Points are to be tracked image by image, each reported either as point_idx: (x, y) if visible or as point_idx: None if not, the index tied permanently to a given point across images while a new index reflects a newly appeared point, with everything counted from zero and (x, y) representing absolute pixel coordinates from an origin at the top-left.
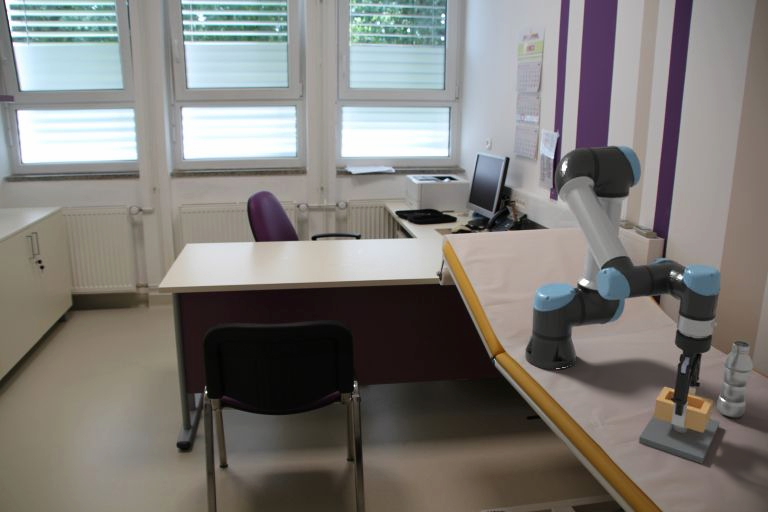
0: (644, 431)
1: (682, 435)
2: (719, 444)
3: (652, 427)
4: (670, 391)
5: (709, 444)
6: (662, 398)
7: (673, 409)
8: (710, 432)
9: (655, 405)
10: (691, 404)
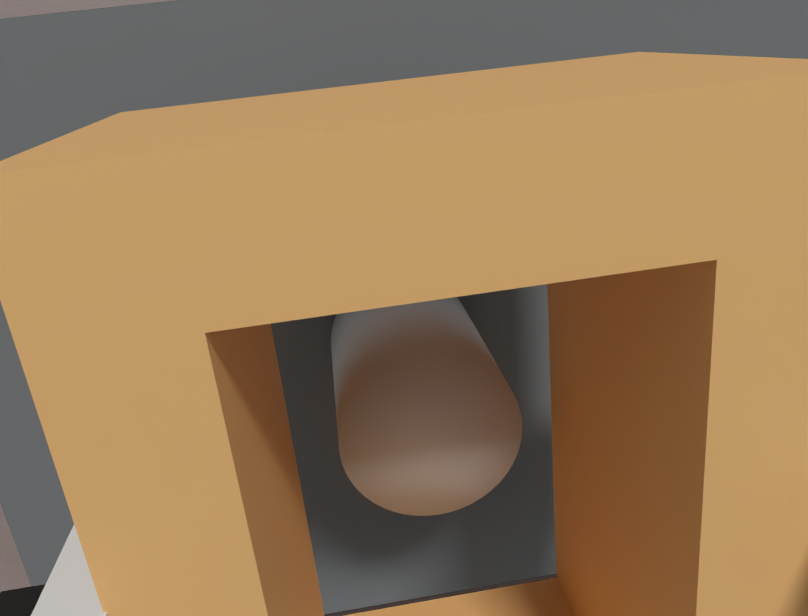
0: (15, 35)
1: (293, 402)
2: (471, 592)
3: (197, 80)
4: (711, 285)
5: (335, 609)
6: (175, 292)
7: (57, 567)
8: (538, 549)
9: (42, 147)
10: (622, 576)
